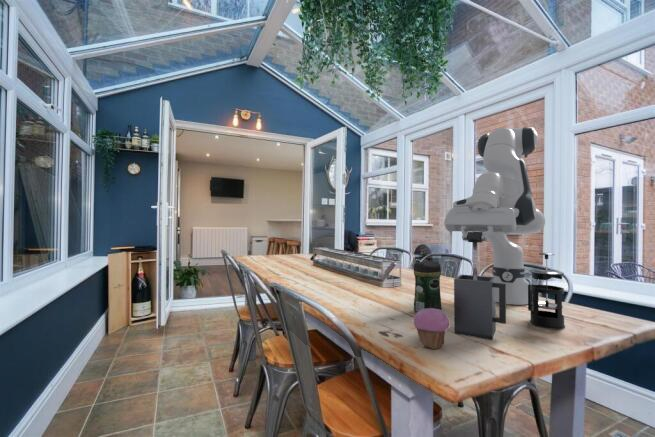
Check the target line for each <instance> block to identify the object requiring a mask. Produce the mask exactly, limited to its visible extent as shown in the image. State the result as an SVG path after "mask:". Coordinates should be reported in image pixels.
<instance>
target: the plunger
mask: <svg viewBox="0 0 655 437" xmlns="http://www.w3.org/2000/svg"><path fill="white" fill-rule="evenodd" d="M467 233H468V240H467V242H468V243H472V275H473V280H477V276H478V243H483V241H482V239H481V236H482V232H467Z"/></svg>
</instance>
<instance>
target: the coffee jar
mask: <svg viewBox="0 0 655 437" xmlns="http://www.w3.org/2000/svg"><path fill="white" fill-rule="evenodd" d="M413 275H414V280H415V282H414V284H415V286H414V298H413V310H414V312H416V313H417V312H418V311H420V310H421V309H426V308H435V309H440V310H442V308H443V306H442V299H441V298H442V297H441V287H440V286H441V285H440V280H441V275H442V269H441V264H440V262H439V261H432V260H425V261H417V262H414V264H413ZM442 311H443V310H442Z"/></svg>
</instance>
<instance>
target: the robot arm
mask: <svg viewBox="0 0 655 437" xmlns="http://www.w3.org/2000/svg"><path fill="white" fill-rule="evenodd" d="M538 142H539V137H538V133H537V131H536V129H535V128H534V127H532V126H523V127H516V128H508V127H499V128H495V129H494V130H492V131H491V132H490V133H486V134H483V135H481V136H480V137H479V139H478V141H477V144H476V147H477V148H476V149H477V152H478V154H479V156H480V157H481V158H482V159H483V160H482V161H483V162H482V163H483V167H484V168H485V170H486V171H487V172H482V173H481V174H480V175H479V176H478V177H477V179H476V181H475V184H474V186H473V189H472V195H471V196H468V197H467V198H464V199H459V200H456V201H454V202H453V203H452V208H451V209H450V210H448V212H447V214H446V216H445V219H444V222H443V223H444V227H445V229H446V230H447V231H448V232H461V234H462V235H461V239H462V241H468V232H482V236H481V239H482V242H489V244H490V246H491V248H492V254H493V255H492V258H493V266H492V269H491V271H492V276H491V277H496V283H506V305H514V306H515V305H517V306H521V305H528V285H530V282H528V281H527V279H525V277H526V268H525V267H524V256H525V253H524V249H523V248H522V247H521V246H520V245H518V244H516V243H514V242H512V241H510V240H509V239H508V237H507V235H525V236H526V235H534V234H539V233H540V232H541V231H542V230H543V229H544V227H545V224H546V218H545V215H544V214H543V212H542V211H541V210H540V209H538V208H537V205H536V203H535V200H534V198H533V195H532V194H533V193H532V188H531V183H530V178H529V173H528V169H527V165H526V163H525V161H524V160H523V157H524V158H525V159H526V158H528V156H529V155H530V154H532V153H533V152H534V151H535V150H536V148H537V146H538ZM496 303H499V288H496Z"/></svg>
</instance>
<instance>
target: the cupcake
mask: <svg viewBox="0 0 655 437" xmlns="http://www.w3.org/2000/svg"><path fill="white" fill-rule="evenodd" d="M413 325H414V327H415V328H416V331H417V335H418V341H419V342H420V344H421V345H422V346H423V347H425V348H426V347H427V348H430V349H433V350H437V349H439V348H441V347H443V346H444V344H445V333H446V331H447V330H449V327H450V319H449V317H448V316H447V315H446V314H445V313H444V311H443V310H440V309H435V308H426V309H421V310H420V311H418V312H416V313H415V315H414V317H413Z"/></svg>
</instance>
